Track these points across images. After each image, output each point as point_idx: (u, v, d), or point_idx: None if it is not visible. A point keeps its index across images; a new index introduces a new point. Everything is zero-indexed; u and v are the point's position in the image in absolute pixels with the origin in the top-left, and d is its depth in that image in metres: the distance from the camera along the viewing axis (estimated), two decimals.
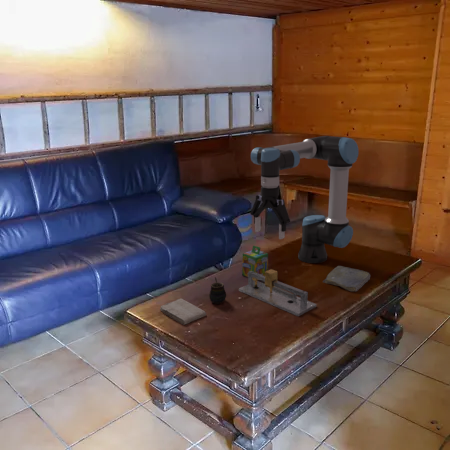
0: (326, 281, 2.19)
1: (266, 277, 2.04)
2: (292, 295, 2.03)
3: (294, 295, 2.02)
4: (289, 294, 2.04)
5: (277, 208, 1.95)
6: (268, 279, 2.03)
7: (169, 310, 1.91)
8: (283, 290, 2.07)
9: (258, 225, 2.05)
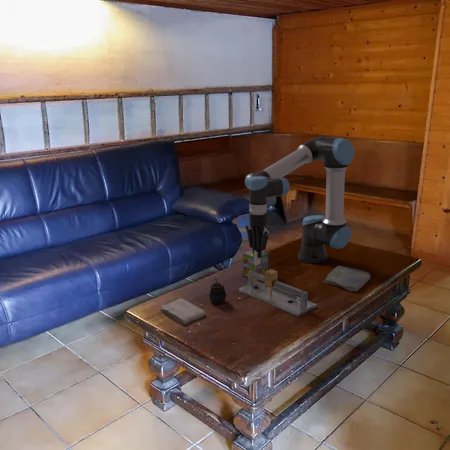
0: (326, 281, 2.19)
1: (266, 277, 2.04)
2: (292, 295, 2.03)
3: (294, 295, 2.02)
4: (289, 294, 2.05)
5: (261, 236, 2.04)
6: (268, 279, 2.03)
7: (169, 310, 1.92)
8: (283, 290, 2.07)
9: None
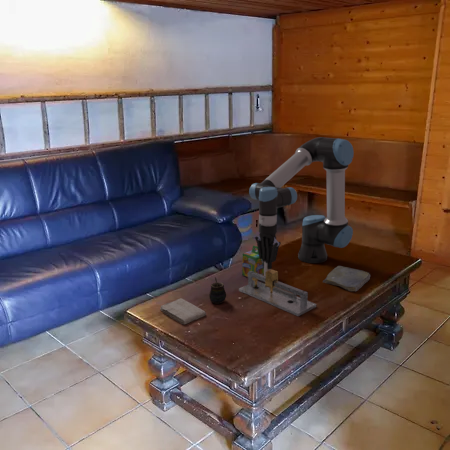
0: (326, 281, 2.19)
1: (266, 277, 2.04)
2: (292, 295, 2.03)
3: (294, 295, 2.02)
4: (289, 294, 2.05)
5: (271, 247, 2.01)
6: (268, 279, 2.03)
7: (169, 310, 1.92)
8: (283, 290, 2.07)
9: None
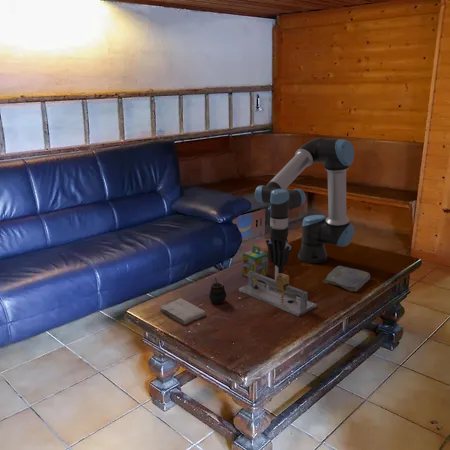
0: (326, 281, 2.19)
1: (278, 281, 1.99)
2: (292, 295, 2.03)
3: (294, 295, 2.02)
4: (288, 294, 2.05)
5: (282, 250, 1.97)
6: (280, 283, 1.99)
7: (169, 310, 1.91)
8: None
9: None
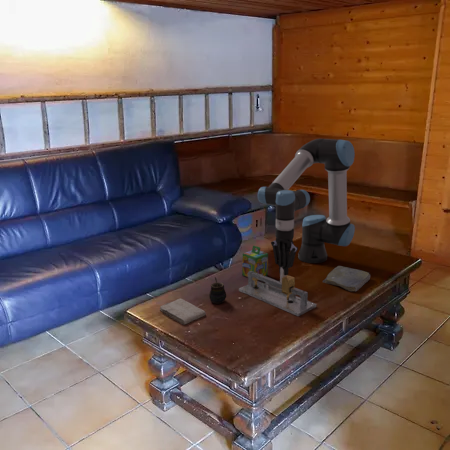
0: (326, 281, 2.19)
1: (283, 283, 1.97)
2: (291, 294, 2.04)
3: (293, 294, 2.03)
4: None
5: (287, 252, 1.94)
6: (285, 286, 1.97)
7: (169, 310, 1.91)
8: None
9: None
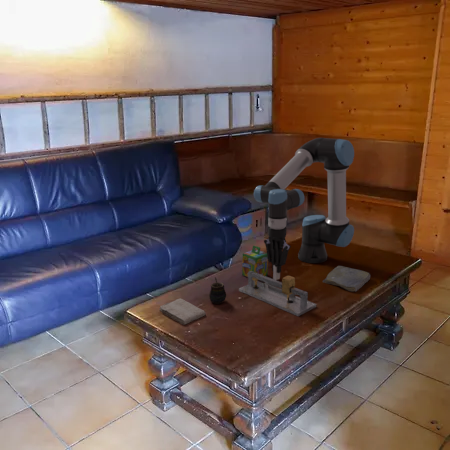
0: (326, 281, 2.19)
1: (283, 284, 1.97)
2: (291, 294, 2.04)
3: (293, 294, 2.03)
4: None
5: (280, 250, 1.98)
6: (285, 286, 1.97)
7: (169, 310, 1.91)
8: (281, 290, 2.08)
9: None
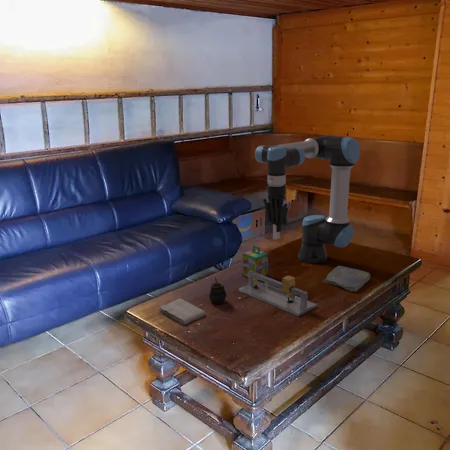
0: (326, 281, 2.19)
1: (283, 284, 1.97)
2: (290, 294, 2.04)
3: (292, 294, 2.03)
4: None
5: (280, 208, 1.96)
6: (285, 286, 1.97)
7: (168, 310, 1.91)
8: None
9: None
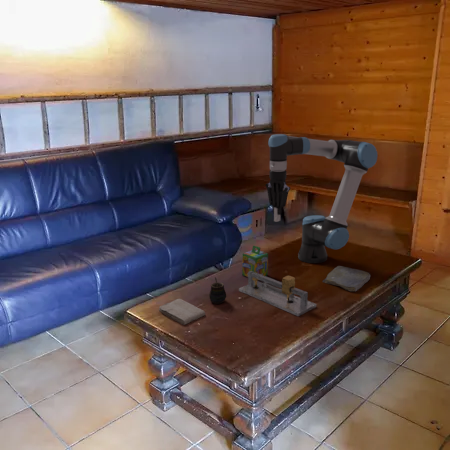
0: (326, 281, 2.19)
1: (283, 284, 1.97)
2: None
3: (292, 294, 2.03)
4: None
5: (281, 192, 2.10)
6: (285, 286, 1.97)
7: (168, 310, 1.91)
8: (280, 289, 2.08)
9: None
